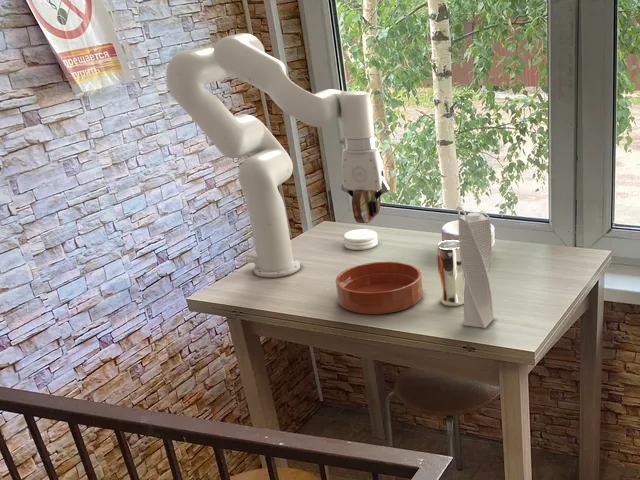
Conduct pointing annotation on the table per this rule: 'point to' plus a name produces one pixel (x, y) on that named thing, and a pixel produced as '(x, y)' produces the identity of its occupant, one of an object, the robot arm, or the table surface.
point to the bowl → (379, 287)
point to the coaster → (360, 239)
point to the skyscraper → (476, 267)
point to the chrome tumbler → (450, 272)
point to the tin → (363, 206)
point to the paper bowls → (456, 231)
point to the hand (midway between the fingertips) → (368, 214)
